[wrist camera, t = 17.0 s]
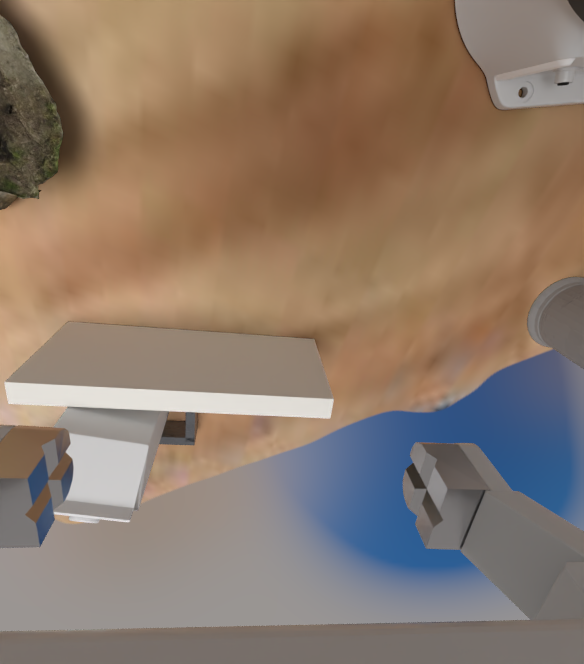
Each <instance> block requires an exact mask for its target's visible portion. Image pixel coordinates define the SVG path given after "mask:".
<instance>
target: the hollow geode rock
mask: <svg viewBox="0 0 584 664" xmlns="http://www.w3.org/2000/svg"><path fill="white" fill-rule="evenodd" d="M62 139H63V131H62V127H61V118H60V116H59V114H58V113H57V108H56V103H55V102H54V100H53V99H52V97H51V95H50V94H49V92H48V89H47V88H46V86H45V85H44V83H43V81H42V80H41V79H40V77H39V76H38V75H37V73H36V72H35V70H34V68H33V65H32V63H31V61H30V60H29V57H28V54H27V53H26V52H25V50H24V49H23V48H22V46H21V44H20V41H19V37H18V35H17V32H16V31H15V29H14V28H13V26H12V24H11V23H10V22H9V21H8V20H6V19H5V18H4V17H2V16H1V15H0V210H1V209H6V208H7V207H8V206H9V205H10V204H11V203H12V202H13V201H14V200H15V199H16V198H17V197H19V198H22V199H25V198H37V199H39V192H40V191H41V190H38V184H43V183H44V182H45V181H46V180H47V179H49V178H51V177H53V176H54V175H55V174H56V173H57V172H58V158H59V149H60V145H61V143H62Z"/></svg>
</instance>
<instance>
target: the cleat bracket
mask: <svg viewBox="0 0 584 664" xmlns="http://www.w3.org/2000/svg"><path fill="white" fill-rule="evenodd" d="M197 427H198V412H186V421H166V423H165V427H164V430H163V433H162V436H161V439H160V443H159V444H173V445H194V444H195V439H196V434H197Z"/></svg>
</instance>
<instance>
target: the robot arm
mask: <svg viewBox="0 0 584 664" xmlns="http://www.w3.org/2000/svg"><path fill="white" fill-rule="evenodd" d="M455 8H456V16H457V22H458V26H459V30H460V33H461V36H462V39H463V41H464V43H465V46H466V48H467V49H468V51H469V53H470V54H471V56H472V57H473V59H474V60H475V61H476V63H477V64H478V65H479V66H480V68H481V69H482V71H483V72H484V74H485V76H486V78H487V83H488V88H489V92H490V95H491V99H492V101H493V103H494V105H495V106H496V107H497V108H498V109H501V110H511V109H524V108H537V107H549V106H562V105H575V104H584V0H455ZM520 89H522V90H523V95H522V96H521V98H520V97H519V95H518V92H519V90H520ZM70 444H71V442H70V436H69V431H68V430H66V429H65V428H52V427H36V426H20V425H18V426H15V425H0V548H19V547H20V548H23V547H40V546H41V544H42V542H43V541H44V539H45V537H46V535H47V533H48V531H49V529H50V528H51V525H52V524H53V522H54V520H55V518H54V511H53V510H54V509H55V508H57V507H58V506H60V505H61V504H62V503H64V501H65V499H66V497H67V495H68V493H69V491H70V487H71V483H72V480H73V469H74V467H73V459H72V458H71V457H70V456H69V455H68V454H67V453H66V450H67V449H68V447H69V445H70ZM410 456H411V459H412V461H413V463H412V464H411V465H410V466H409V467H408V468H407V469H406V470H405V474H404V478H403V493H404V497H405V501H406V504H407V506H408V508H409V509H410V510H411V511H412V512H413V513H415V514H416V515H417V516H418V517H417V520H416V523H415V525H416V526H417V529H418V531H419V534H420V536H421V538H422V540H423V542H424V545H425V547H426V548H427V549H456V550H461V552H462V553H463V554H464V555H465V556H466V557H467V558H468V559H469V560H470V561H471V562H472V563H473V564H474V565H475V566H476V567H478V569H479V570H480V571H481V572H482V573H483V574H484V575H485V576H486V577H487V578H488V579H489V580H491V581H492V583H494V584H495V585H496V586H497V587H498V588H499V589H500V590H501V591H502V592H503V593H504V594H505V595H506V596H507V597H508V598H509V599H510V600H511V601H512V602H513V603H514V604H515V605H516V606H517V607H518V608H519V609H520V610H521V611H522V612H523V613H524V614H525V615H526V616H527V617H528V618H530V620H511V621H462V622H418V623H375V624H374V623H373V624H328V625H283V626H282V625H281V626H234V627H186V628H141V629H140V628H139V629H97V630H95V629H93V630H48V631H47V630H46V631H3V632H2V631H1V632H0V664H584V531H582V530H580V529H579V528H577V527H575V526H574V525H572V524H570V523H569V522H567V521H566V520H564V519H563V518H561V517H559V516H558V515H556V514H554V513H553V512H551V511H550V510H548V509H546V508H545V507H543V506H542V505H540V504H538V503H537V502H535V501H533V500H532V499H530V498H529V497H527V496H525V495H524V494H522V493H520V492H519V491H512V490H511V488H510V487H509V486H508V484H507V483H506V482H505V480H504V479H503V478H502V477H501V475H500V474H499V473H498V471H497V470H496V469H495V467H494V466H493V465H492V463H491V462H490V461H489V460H488V458H487V457H486V456H485V454H484V453H483V452H482V450H481V449H480V448H479V447H478V446H477V445H475V444H473V443H454V444H447V443H418V442H417V443H415V444H414V446H413V447H412V450H411V453H410Z"/></svg>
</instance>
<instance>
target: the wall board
mask: <svg viewBox="0 0 584 664" xmlns="http://www.w3.org/2000/svg"><path fill="white" fill-rule="evenodd" d="M4 383H5V388H6V394H7V399H8V404H23V405H45V406H67V407H89V408H111V409H133V410H155V411H177V412H199V413H221V414H243V415H265V416H287V417H309V418H330V417H331V411H332V406H333V401H334V398H333V395H332V392H331V389H330V386H329V383H328V380H327V377H326V374H325V371H324V367H323V364H322V361H321V358H320V355H319V352H318V349H317V346H316V343H315V340H314V339H307V338H293V337H279V336H265V335H251V334H237V333H223V332H209V331H195V330H181V329H167V328H153V327H139V326H125V325H111V324H96V323H82V322H67V323H66V324H65V325H64V326H63V327H62V328H61V329H60V330H59V331H57V332H56V333H55V334H54V335H53V336H52V337H51V338H50V339H49V340H48V341H47V342H46V343H45V344H44V345H43V346H42V347H41V348H40V349H39V350H38V351H36V352H35V353H34V354H33V355H32V356H31V357H30V358H29V359H28V360H27V361H26V362H25V363H24V364H23V365H22V366H21V367H20V368H19V369H18V370H16V371H15V372H14V373H13V374H12V375H11V376H10V377H9V378H8V379H7V380H6V381H5V382H4Z"/></svg>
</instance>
